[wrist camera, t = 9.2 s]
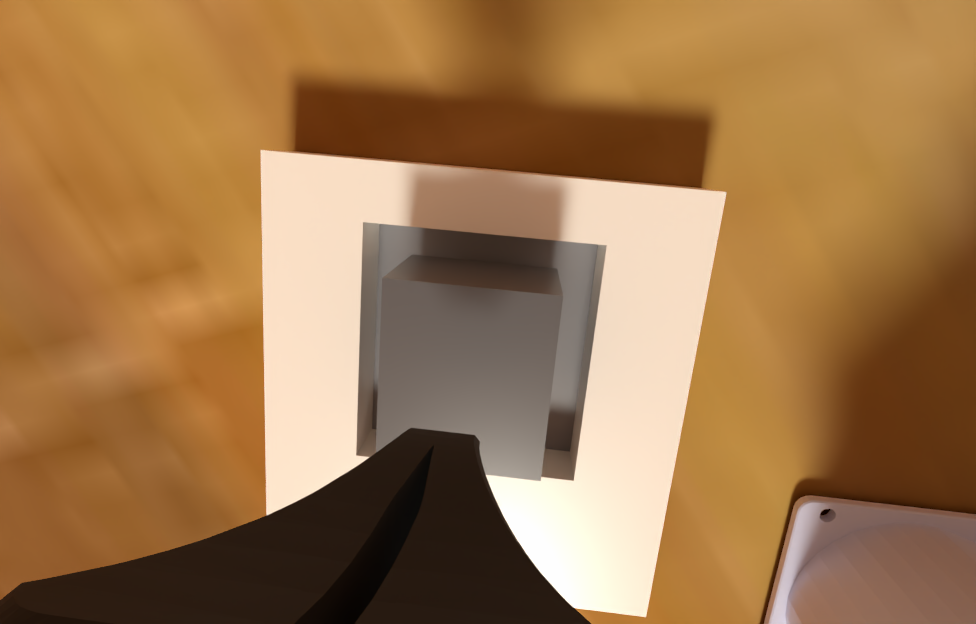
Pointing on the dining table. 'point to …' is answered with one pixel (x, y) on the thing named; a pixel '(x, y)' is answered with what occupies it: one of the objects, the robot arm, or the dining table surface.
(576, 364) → the socket plate
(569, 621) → the robot arm
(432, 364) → the plug
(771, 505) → the dining table surface
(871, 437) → the dining table surface
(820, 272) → the dining table surface
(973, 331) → the dining table surface
